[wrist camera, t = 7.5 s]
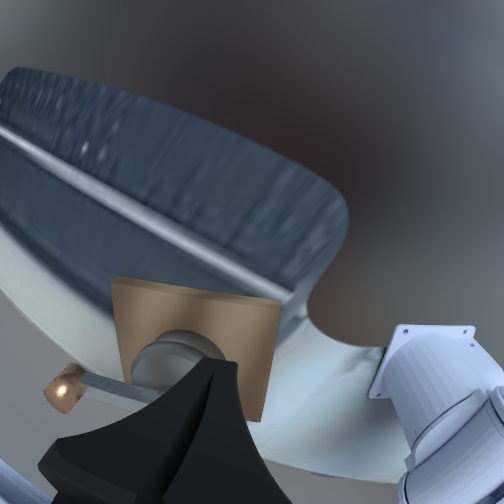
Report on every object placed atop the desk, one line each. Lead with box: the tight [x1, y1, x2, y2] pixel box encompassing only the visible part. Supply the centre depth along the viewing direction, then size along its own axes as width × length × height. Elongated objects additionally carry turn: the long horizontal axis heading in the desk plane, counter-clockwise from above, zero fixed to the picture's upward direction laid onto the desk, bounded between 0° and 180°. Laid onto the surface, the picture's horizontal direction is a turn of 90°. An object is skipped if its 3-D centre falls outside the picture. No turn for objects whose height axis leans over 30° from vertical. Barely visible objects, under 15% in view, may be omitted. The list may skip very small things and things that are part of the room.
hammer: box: [44, 363, 171, 414], centre depth 15 cm, size 10×2×4 cm, turn 88°
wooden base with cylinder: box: [111, 276, 281, 422], centre depth 20 cm, size 13×12×6 cm
